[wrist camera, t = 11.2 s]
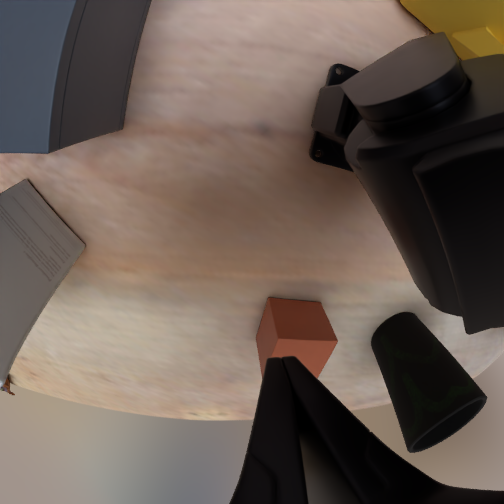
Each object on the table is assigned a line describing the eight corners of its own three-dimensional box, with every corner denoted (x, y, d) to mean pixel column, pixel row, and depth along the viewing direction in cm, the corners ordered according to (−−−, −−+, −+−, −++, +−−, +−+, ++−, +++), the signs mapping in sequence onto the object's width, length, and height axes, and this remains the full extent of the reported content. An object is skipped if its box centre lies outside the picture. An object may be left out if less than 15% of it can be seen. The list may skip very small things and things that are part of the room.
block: (320, 302, 23) (338, 341, 19) (304, 341, 25) (316, 380, 21) (268, 296, 22) (278, 338, 18) (255, 338, 24) (262, 379, 20)
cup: (360, 368, 28) (400, 461, 17) (361, 319, 24) (419, 431, 14) (420, 343, 28) (470, 424, 17) (430, 292, 24) (500, 381, 13)
